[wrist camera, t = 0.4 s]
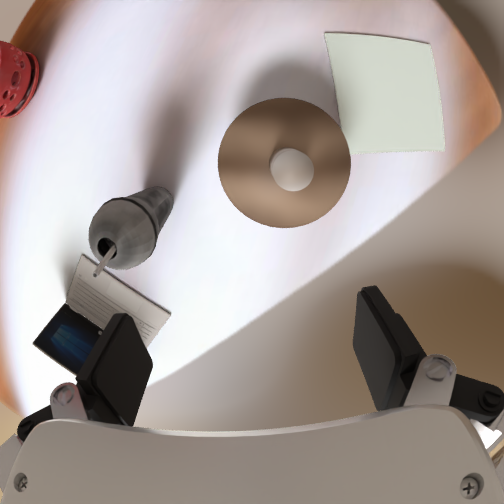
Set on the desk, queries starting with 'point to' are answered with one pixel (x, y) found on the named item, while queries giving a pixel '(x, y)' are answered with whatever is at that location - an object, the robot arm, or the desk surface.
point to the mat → (386, 93)
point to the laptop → (94, 316)
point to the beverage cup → (128, 228)
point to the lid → (284, 163)
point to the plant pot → (16, 79)
